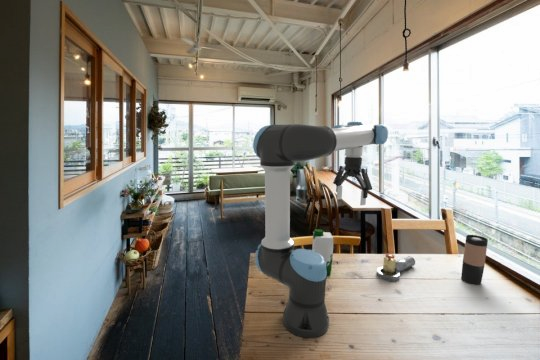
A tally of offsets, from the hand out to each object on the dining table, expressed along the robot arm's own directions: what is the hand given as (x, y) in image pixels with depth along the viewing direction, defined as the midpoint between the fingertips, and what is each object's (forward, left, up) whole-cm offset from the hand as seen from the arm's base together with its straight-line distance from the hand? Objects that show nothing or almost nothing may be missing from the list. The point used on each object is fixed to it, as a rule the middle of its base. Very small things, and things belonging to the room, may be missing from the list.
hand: (350, 202), depth 129 cm
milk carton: (-15, +2, -32) cm, 35 cm away
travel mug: (+35, -40, -32) cm, 62 cm away
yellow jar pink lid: (+8, -17, -32) cm, 37 cm away
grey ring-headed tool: (+15, -17, -32) cm, 39 cm away
